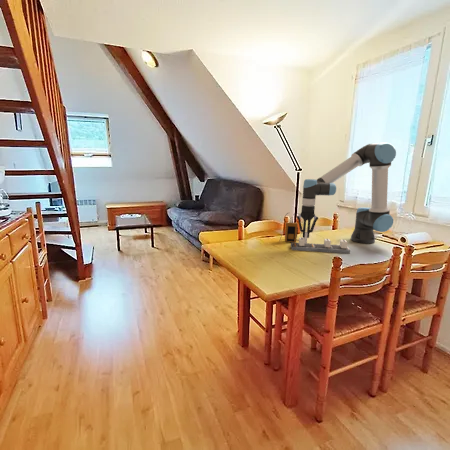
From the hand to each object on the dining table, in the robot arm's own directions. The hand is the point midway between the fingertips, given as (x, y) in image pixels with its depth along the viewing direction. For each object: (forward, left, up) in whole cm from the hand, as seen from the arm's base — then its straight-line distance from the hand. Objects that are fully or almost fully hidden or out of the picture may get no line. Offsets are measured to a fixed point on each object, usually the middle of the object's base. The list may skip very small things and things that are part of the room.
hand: (305, 242), depth 180 cm
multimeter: (+8, -17, -4) cm, 19 cm away
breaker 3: (-23, 0, -1) cm, 23 cm away
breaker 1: (+2, 0, -2) cm, 3 cm away
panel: (-9, 0, -4) cm, 9 cm away
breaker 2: (-13, 0, -2) cm, 13 cm away
